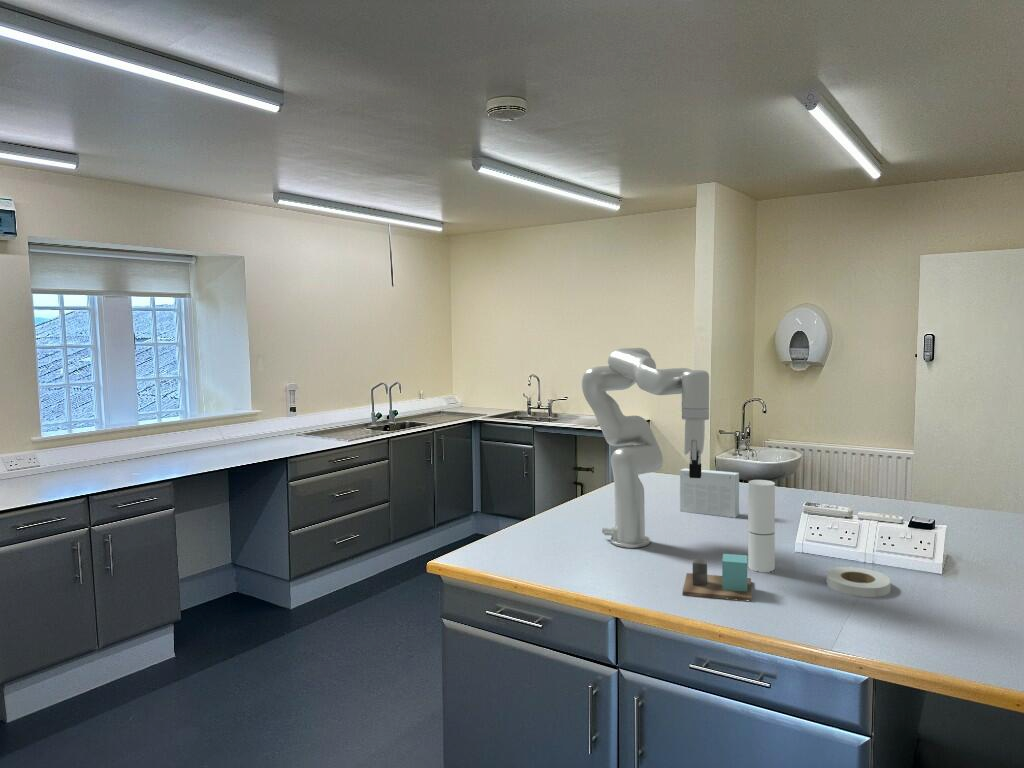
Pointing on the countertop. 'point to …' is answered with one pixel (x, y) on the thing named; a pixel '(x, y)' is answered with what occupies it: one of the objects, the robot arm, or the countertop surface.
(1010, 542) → the countertop surface
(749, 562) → the cylindrical container
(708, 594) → the walnut board
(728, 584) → the aqua foam cube
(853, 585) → the roll of tape
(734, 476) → the skincare box
